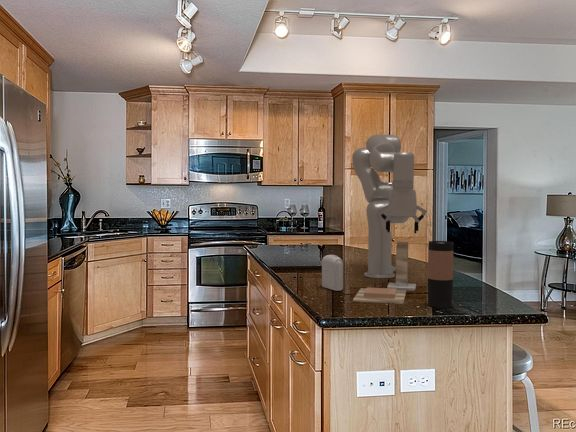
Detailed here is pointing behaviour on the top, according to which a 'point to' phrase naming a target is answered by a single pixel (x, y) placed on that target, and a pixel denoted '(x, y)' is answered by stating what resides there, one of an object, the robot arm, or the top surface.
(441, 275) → the travel mug
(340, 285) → the photo printer
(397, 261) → the wooden block
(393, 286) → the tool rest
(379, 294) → the tile
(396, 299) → the oak board
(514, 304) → the top surface
